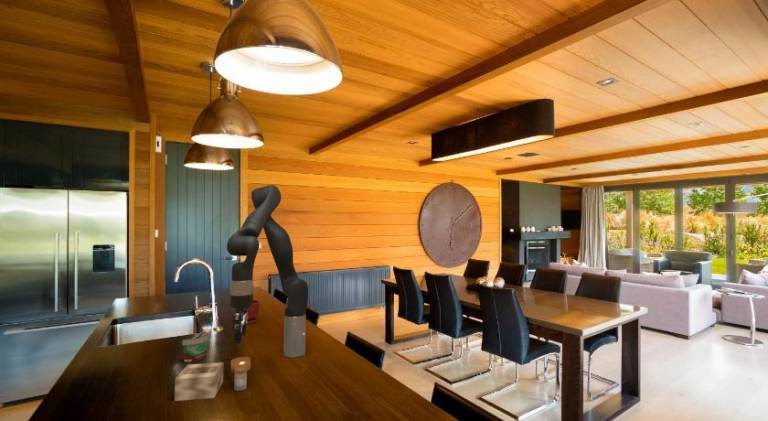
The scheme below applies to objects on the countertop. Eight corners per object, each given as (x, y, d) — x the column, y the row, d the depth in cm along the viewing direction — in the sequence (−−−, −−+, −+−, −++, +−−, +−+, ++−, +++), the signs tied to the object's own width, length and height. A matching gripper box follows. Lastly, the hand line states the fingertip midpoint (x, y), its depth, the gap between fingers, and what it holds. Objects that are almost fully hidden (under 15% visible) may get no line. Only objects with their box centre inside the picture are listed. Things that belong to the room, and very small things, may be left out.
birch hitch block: (223, 381, 131) (223, 362, 131) (214, 397, 119) (214, 376, 119) (187, 384, 128) (187, 364, 129) (174, 401, 117) (175, 379, 117)
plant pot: (254, 325, 202) (255, 304, 202) (231, 325, 202) (231, 303, 202) (262, 319, 215) (263, 299, 215) (240, 319, 215) (241, 298, 215)
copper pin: (251, 383, 130) (252, 356, 130) (248, 391, 124) (248, 363, 124) (232, 384, 129) (233, 357, 129) (228, 392, 123) (229, 364, 123)
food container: (194, 366, 145) (195, 341, 145) (181, 364, 146) (182, 339, 146) (214, 355, 157) (215, 331, 157) (202, 354, 158) (203, 330, 158)
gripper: (249, 296, 121) (247, 345, 121) (256, 288, 135) (254, 332, 135) (225, 296, 120) (223, 346, 119) (235, 289, 134) (233, 333, 133)
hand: (240, 339), depth 127 cm, fingers open, 8 cm apart
